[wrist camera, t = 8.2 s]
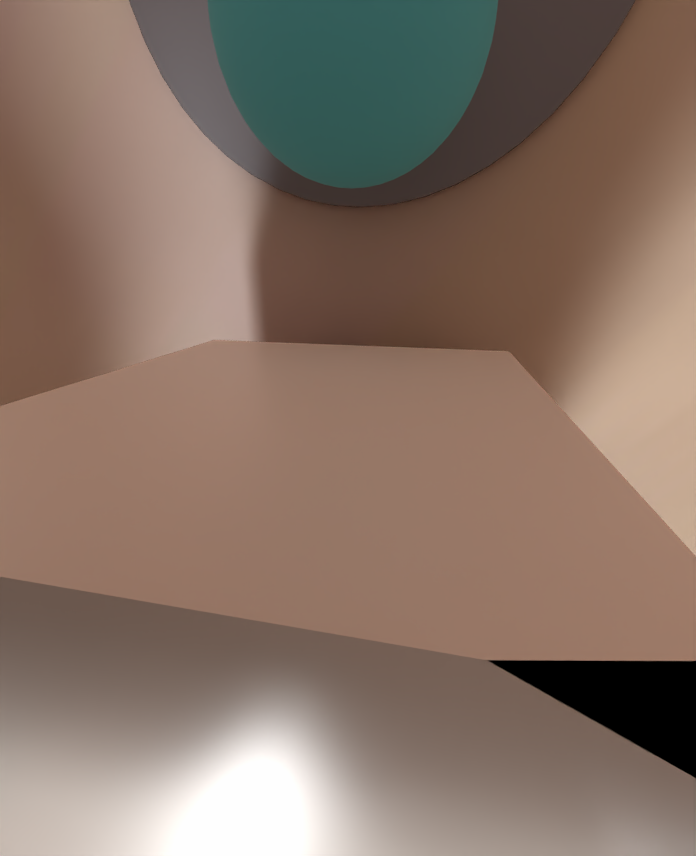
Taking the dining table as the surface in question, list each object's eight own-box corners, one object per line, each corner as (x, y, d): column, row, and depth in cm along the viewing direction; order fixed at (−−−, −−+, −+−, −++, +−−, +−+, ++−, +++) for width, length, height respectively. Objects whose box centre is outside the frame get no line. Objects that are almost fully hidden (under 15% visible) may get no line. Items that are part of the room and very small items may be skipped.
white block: (239, 567, 14) (-29, 970, 6) (213, 340, 11) (-355, 515, 3) (472, 601, 13) (537, 1193, 4) (509, 351, 10) (847, 722, 2)
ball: (135, -352, 5) (278, 6, 10) (131, 91, 6) (267, 223, 11) (567, -467, 4) (492, -12, 9) (503, 74, 5) (464, 226, 10)
